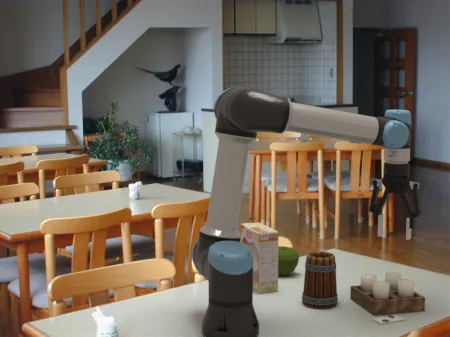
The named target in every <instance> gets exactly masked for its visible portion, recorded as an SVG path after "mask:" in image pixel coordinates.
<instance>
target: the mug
mask: <svg viewBox="0 0 450 337" xmlns="http://www.w3.org/2000/svg"><path fill="white" fill-rule="evenodd" d="M304 268H305V270H304V281H303V290H302V294H301V295H302V296H301V298H302V303H303V305H305V306H306V307H308V308H311V309H319V310H324V309H325V310H326V309H332V308H334V307H336V306H337V304H338V301H339V295H338V293H337V292H338V290H337V289H338V287H337V262H336V256H335V255H334V253H333V252H328V251H326V249H322V248H320V249H319V252H318V251H310V252H308V253H307V254H306V257H305V264H304Z"/></svg>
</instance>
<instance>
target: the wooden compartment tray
mask: <svg viewBox="0 0 450 337" xmlns="http://www.w3.org/2000/svg"><path fill="white" fill-rule="evenodd" d="M349 294H350V295H349V296H350V297H349V299H350V300H351V301H353V302H354V303H356V304H357V305H358V306H360V307H361V308H362V309H364V310H365V311H367V312H368V313H370V314H371V315H372V316H374V317H375V316H383V315H397V314H405V313H416V312H425V309H426V297H425V296H423V295H421V294H420V293H418V292H416V291H414V297H413V298H400V297H398V290H389V300H377V301H376V300H374V299H373V292H362V291H361V284H360V285H358V284H357V285H350V293H349Z"/></svg>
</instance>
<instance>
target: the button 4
mask: <svg viewBox="0 0 450 337" xmlns="http://www.w3.org/2000/svg"><path fill="white" fill-rule="evenodd" d="M414 292H415V280H413V279H410V278H409V279H408V278H401V279H400V280H398V297H400V298H413V297H414Z"/></svg>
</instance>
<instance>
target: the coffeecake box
mask: <svg viewBox="0 0 450 337" xmlns="http://www.w3.org/2000/svg"><path fill="white" fill-rule="evenodd" d="M279 234H280V233H279V231H278V230H275V229H274V228H272V227H270V226H268V225H265V224H264V223H261V222H260V221H259V222H244V223H243V222H242V223H240V235H241V239H240V243H244V244H246V245H248V246H249V247H250V248H251V250H252V252H253V260H254V263H253V292H255V293H256V294H258V295H264V294H270V293H271V294H272V293H278V292H279V275H278V247H279Z"/></svg>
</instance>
